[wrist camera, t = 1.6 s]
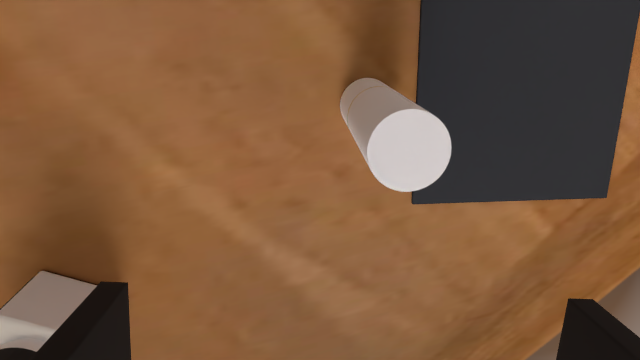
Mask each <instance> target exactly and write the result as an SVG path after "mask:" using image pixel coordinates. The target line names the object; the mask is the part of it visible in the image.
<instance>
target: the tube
mask: <svg viewBox="0 0 640 360" xmlns="http://www.w3.org/2000/svg"><path fill="white" fill-rule="evenodd" d="M340 110H341V114H342V117H343V119H344V121H345V122H346V124H347V126H348V128H349V130H350V132H351V134H352V136H353V138H354V139H355V141H356V143H357V145H358V147H359V149H360V151H361V153H362V155H363V156H364V158H365V160H366V162H367V164H368V166H369V168H370V170H371V171H372V173H373V174H374V176H375V178H376V179H377V180H378V181H379V182H380V183H382V184H383V185H385V186H386V187H388V188H391V189H393V190H396V191H402V192H411V191H416V190H420V189H422V188H425V187H427V186H429V185H430V184H432V183H434V182H435V181H436V180H437V179H438V178H439V177H440V176H441V175H442V173H443V172H444V171H445V169H446V167H447V165H448V163H449V160H450V156H451V149H452V147H451V139H450V135H449V132H448V130H447V129H446V127H445V125H444V124H443V123H442V122H441V121H440V119H439V118H437V117H436V116H434V115H433V114H431V113H430V112H428V111H427V110H425V109H423V108H422V107H420V106H419V105H417V104H416V103H414V102H413V101H411V100H409V99H408V98H406V97H405V96H403V95H402V94H400V93H398V92H397V91H395V90H394V89H392V88H390V87H389V86H387V85H386V84H384V83H383V82H381V81H379V80H377V79H373V78H362V79H358V80H356V81H354V82H353V83H351V84H350V85H349V86H348V87H347V88H346V89H345V91H344V92H343V94H342V97H341V101H340Z"/></svg>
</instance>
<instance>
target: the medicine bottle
mask: <svg viewBox="0 0 640 360" xmlns="http://www.w3.org/2000/svg"><path fill="white" fill-rule="evenodd" d="M96 286H97V285H93V284H90V283H86V282H82V281H79V280H75V279H71V278H68V277H64V276H60V275H57V274H53V273H49V272H46V271H40V272H38V273H37V274H36V275H35V276H34V277H33V278H32V279H31V280H30V281H29V282H28V283H27V284H26V285H25V286H24V287H23V288H22V289H20V290H19V291H18V292H17V293H16V294H15V295H14V296H13V297H12V298H11V299H10V300H9V301H8V302H7V303H6V304H5V305H4V306H3V307H2V308H1V309H0V360H30V359H31V357H32V356H33V355H34V354H35V353H36V352H37V351H38V350H39V349H40V348H41V347H42V345H43V344H44V343H45V342H46V341H47V340H48V339H49V338H50V337H51V336H52V335H53V333H54V332H55V331H56V330H57V329H58V328H59V327H60V326H61V325H62V324H63V323H64V321H65V320H66V319H67V318H68V317H69V316H70V315H71V314H72V313H73V312H74V310H75V309H76V308H77V307H78V306H79V305H80V304H81V303H82V302H83V301H84V300H85V298H86V297H87V296H88V295H89V294H90V293H91V292H92V291H93V290H94V289H95V288H96Z"/></svg>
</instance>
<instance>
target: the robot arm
mask: <svg viewBox="0 0 640 360" xmlns="http://www.w3.org/2000/svg"><path fill="white" fill-rule="evenodd" d="M30 360H131V347H130V323H129V299H128V283H122V282H100V283H99V284H98V285H97V286H96V288H95V289H94V290H93V291H92V292H91V293H90V294H89V295H88V296H87V297H86V298H85V300H84V301H83V302H82V303H81V304H80V305H79V306H78V307H77V308H76V309H75V310H74V312H73V313H72V314H71V315H70V316H69V317H68V318H67V319H66V320H65V321H64V323H63V324H62V325H61V326H60V327H59V328H58V329H57V330H56V331H55V332H54V333H53V335H52V336H51V337H50V338H49V339H48V340H47V341H46V342H45V343H44V344H43V345H42V347H41V348H40V349H39V350H38V351H37V352H36V353H35V354H34V355H33V356H32V357H31V359H30ZM556 360H640V338H639V337H638V336H637V335H635V334H634V333H633V332H632V331H631V330H630V329H628V328H627V327H626V326H625V325H623V324H622V323H621V322H620V321H618V320H617V319H616V318H615V317H614V316H612V315H611V314H610V313H609V312H607V311H606V310H605V309H604V308H603V307H601V306H600V305H599V304H598V303H597V302H595V301H594V300H593V299H568V303H567V308H566V313H565V318H564V323H563V328H562V333H561V338H560V343H559V349H558V353H557V358H556Z"/></svg>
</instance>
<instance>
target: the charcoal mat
mask: <svg viewBox="0 0 640 360" xmlns="http://www.w3.org/2000/svg"><path fill="white" fill-rule="evenodd" d="M639 13H640V0H421V9H420V31H419V53H418V75H417V97H416V104H417V105H419V106H420V107H422V108H423V109H425V110H427V111H428V112H430V113H431V114H433V115H434V116H436V117H437V118H439V119H440V121H441V122H442V123H443V124H444V125H445V127H446V129H447V130H448V132H449V135H450V139H451V147H452V149H451V156H450V160H449V163H448V165H447V167H446V169H445V171H444V172H443V173H442V175H441V176H440V177H439V178H438V179H437V180H436V181H435V182H434V183H432V184H430V185H429V186H427V187H425V188H422V189H420V190H416V191H412V204H433V203H464V202H494V201H525V200H555V199H586V198H607V192H608V186H609V181H610V175H611V170H612V164H613V158H614V153H615V147H616V142H617V136H618V130H619V125H620V119H621V114H622V108H623V102H624V97H625V91H626V85H627V80H628V74H629V69H630V63H631V57H632V52H633V46H634V41H635V35H636V29H637V24H638V18H639Z"/></svg>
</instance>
